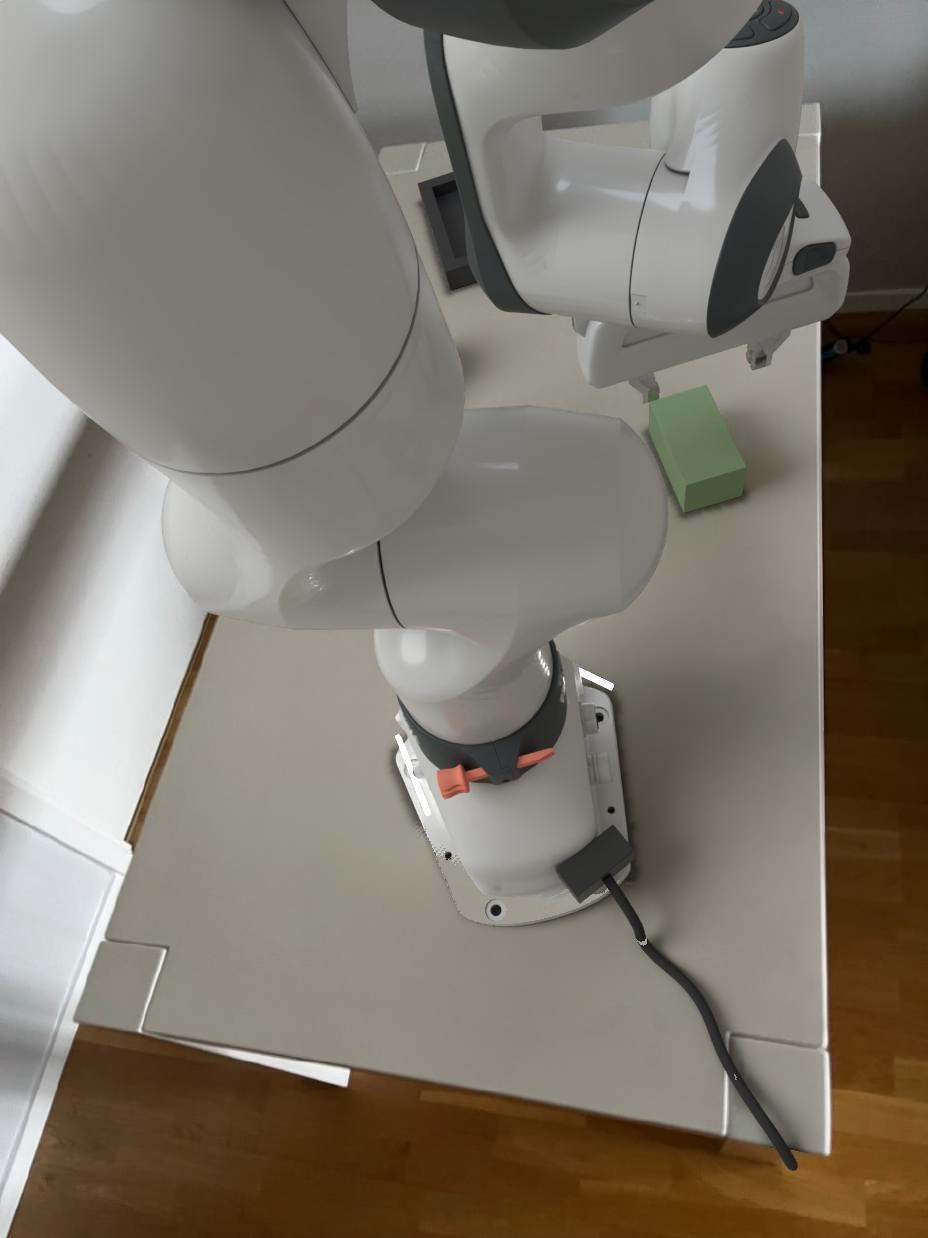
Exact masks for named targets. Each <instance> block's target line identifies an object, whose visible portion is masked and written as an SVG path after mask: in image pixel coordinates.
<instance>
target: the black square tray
mask: <svg viewBox="0 0 928 1238" xmlns="http://www.w3.org/2000/svg"><path fill="white" fill-rule="evenodd" d="M417 187H418V190H419V194H420V199H421V202H422V205H423V209H424V212H425V215H426V218H427V221H428V225H429V227H430V232H431V234H432V237H433V241H434V244H435V247H436V250H437V253H438V257H439V259H440V263H441V266H442V269H443V272H444V275H445V278H446V282H447V285H448V287H449V290H450V291H453V290H456V289H459V288H463V287H465V286H469V285H472V284H475V283H477V281H476V279H475V277H474V275H473V273H472V271H471V268H470V266H469V262H468V257H467V249H466V236H465V217H464V209H463V205H462V202H461V198H460V195H459V191H458V187H457V184H456V180H455V176H454V173H453V171H452V172H451V171H450V172H447V173H444V174H442V175H439V176H435V177H432V178H429V179H427V180H424V181H420V182H417Z"/></svg>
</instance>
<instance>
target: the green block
mask: <svg viewBox="0 0 928 1238" xmlns="http://www.w3.org/2000/svg"><path fill="white" fill-rule="evenodd" d="M648 433H649V436H650V438H651V440H652V442H653V445H654V447H655V449H656V452H657V454H658V456H659V459H660V461H661V463H662V466H663V468H664V470H665V473H666V475H667V478H668V480H669V482H670V485H671V487H672V489H673V491H674V494H675V496H676V498H677V501H678V503H679V506H680V508H681V510H682V512H683V514H686V513H689V512H693V511H697V510H700V509H703V508H706V507H709V506H713V505H717V504H720V503H723V502H727V501H731V500H733V499H736V498H740V497H742V496H743V491H744V484H745V480H746V479H745V478H746V473H747V465H746V463H745V461H744V459H743V457H742V454H741V452H740V451H739V449H738V446H737V444H736V442H735V440H734V439H733V436H732V434H731V432H730V430H729V428H728V426H727V424H726V422H725V420H724V418H723V416H722V414H721V411H720V409H719V407H718V405H717V403H716V401H715V399H714V397H713V395H712V393H711V391H710V389H709V386H708V385H707V384H702V385H700V386H697V387H693V388H690V389H686V390H683V391H680V392H677V393H673V394H671V395H667V396H664V397H661V398H660V397H659V399H658V400H654V401H651V402H648Z"/></svg>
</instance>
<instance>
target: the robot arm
mask: <svg viewBox="0 0 928 1238" xmlns="http://www.w3.org/2000/svg"><path fill="white" fill-rule="evenodd" d="M370 1H371V2H372V3H373V4H374V5H375V6H376V7H378V8H379V9H380V10H382V11H383V12H385V13H386V14H387V15H389V16H391V17H392V18H394V19H396V20H398V21H400V22H401V23H404V24H407V25H409V26H411V27H414V28H418V29H422V31H423V32H422V33H423V35H422V36H423V37H422V38H423V47H424V55H425V62H426V67H427V74H428V78H429V79H428V80H429V84H430V87H431V93H432V98H433V101H434V105H435V110H436V113H437V117H438V122H439V125H440V129H441V132H442V136H443V141H444V144H445V147H446V151H447V155H448V158H449V162H450V165H451V169H452V172H453V173H454V176H455V180H456V184H457V187H458V191H459V195H460V198H461V202H462V205H463V209H464V217H465V236H466V249H467V257H468V262H469V266H470V268H471V271H472V273H473V275H474V277H475V279H476V281H477V282H476V283H477V284H478V285H479V287H480V288H481V290H482V292H483V293H484V295H485V296H486V297H487V298H488V300H490V302H491V303H492V304H493V306H495V307H496V308H497V309H498V310H499V311H502V312H504V313H513V314H514V313H515V314H528V315H541V316H552V315H554V316H561V317H567V318H571V325H572V328H573V329H572V330H574V332H575V333H576V337H575V338H576V340H575V341H576V342H575V344H576V345H575V346H576V349H575V351H576V358H577V361H578V365H579V367H580V370H581V373H582V375H583V378H584V380H585V381H586V383H587V384H588V385H590V386H591V387H593V388H595V389H598V390H601V389H605V388H609V387H612V386H614V385H615V386H616V385H618V384H621V383H625V382H628V384H629V385H630V386H631V387H632V388H634V389H635V390H636V393H637V396H638V399H639V401H640V403H641V405H645V404H649V402H651V401H654V400H658V399H660V385H659V383H658V381H657V380H656V376H655V374H654V373H657V372H660V371H664V370H666V369H670V368H673V367H676V366H679V365H683V364H685V363H689V362H693V361H696V360H700V359H702V358H706V357H709V356H712V355H715V354H718V353H722V352H725V351H728V350H731V349H734V348H738V347H741V346H745V345H746V349H747V350H746V351H745V358H746V361H747V363H748V364H749V365H750V366H749V367H750V369H751V370H752V371H756V370H760V369H763V368H766V367H769V366H771V365H772V360H773V355H774V353H775V352H776V351H777V350H778V349H779V348H780V347H781V346H782V345H783V344H784V342H785V341H787V339H788V338H789V337H790V336H791V333H792V331H793V330H796V329H800V328H803V327H806V326H810V325H812V324H815V323H819V322H823V321H826V320H828V319H830V318H831V317H832V316H834V314H836V312H837V311H839V309H841V307H842V306H843V304H844V303H845V298H846V295H847V290H848V286H849V279H850V270H851V269H850V267H851V265H850V261H849V258H848V257H847V254H848V253H849V250H850V247H851V245H852V237H851V235H850V232H849V230H848V228H847V225H846V222H845V221H844V219H843V218H842V216H841V213H839V211H838V209H837V208H836V206H835V205H834V203H833V202H832V200H831V199H830V197H829V196H828V195H827V193H826V192H825V191H824V190H823V189H822V188H821V187H820V185H819V184H818V183H817V182H816V181H815V180H812V179H803V177H804V176H803V173H802V171H801V167H800V164H799V161H798V159H797V156H796V153H797V152H796V151H797V147H798V141H799V140H798V139H799V134H800V127H801V126H800V125H801V118H802V108H803V99H804V98H803V97H804V85H805V30H804V29H805V28H804V22H803V18H802V14H801V13H800V12H799V10H798V9H797V8H796V7H795V6H794V5H793V4H791V3H790V2H788V1H785V0H370ZM348 36H349V35H348V0H0V334H1V335H2V337H3V338H5V339H6V341H8V343H9V344H10V345H11V346H13V348H14V349H16V350H17V351H18V353H19V354H20V355H21V356H22V357H24V358H25V360H26V361H28V362H29V363H30V365H32V366H33V367H34V369H36V370H37V371H38V372H39V374H41V375H42V376H43V377H44V379H46V380H47V381H48V382H49V383H50V384H51V385H52V386H53V387H54V388H55V389H56V390H58V391H59V392H60V393H61V394H62V395H63V396H64V397H65V398H67V399H68V401H70V402H71V403H72V404H73V405H74V406H75V407H76V408H78V409H79V410H80V411H81V412H82V413H83V414H84V415H85V416H87V417H88V418H89V419H90V420H92V421H93V422H94V423H95V424H97V425H98V426H99V427H101V428H102V429H103V430H104V431H106V432H107V433H108V434H109V435H111V437H113V438H114V439H116V440H117V441H118V442H120V443H121V444H122V445H124V446H125V447H126V448H128V449H129V450H130V451H132V452H133V453H134V454H135V455H137V456H138V457H139V458H141V459H142V460H144V461H145V462H146V463H148V464H149V465H150V466H151V467H153V468H154V469H156V470H157V471H158V472H159V473H160V474H162V475H163V476H165V477H166V478H167V479H168V482H167V486H166V488H165V492H164V495H163V500H162V506H161V516H160V517H161V518H160V523H161V524H160V527H161V529H160V530H161V538H162V544H163V548H164V553H165V556H166V558H167V561H168V564H169V566H170V569H171V571H172V573H173V575H174V577H175V579H176V581H177V582H178V583H179V585H180V586H181V589H182V590H183V591H184V592H185V593H186V595H187V596H188V597H189V599H191V601H192V602H193V603H194V604H195V606H197V607H198V608H199V609H201V610H203V612H206V613H209V614H210V615H215V616H219V617H222V618H223V617H224V618H228V619H233V620H237V621H242V622H246V623H247V622H248V623H251V624H252V623H253V624H256V625H257V624H258V625H262V626H268V627H275V628H280V629H287V630H295V631H321V630H322V631H335V630H336V631H337V630H338V631H340V630H341V631H342V630H344V631H345V630H346V631H347V630H349V631H351V630H352V631H353V630H354V631H356V630H360V631H361V630H365V631H366V630H370V631H371V630H373V649H374V654H375V659H376V661H377V665H378V667H379V670H380V671H381V674H382V675H383V677H384V678H385V679H386V681H387V682H388V684H389V685H390V687H391V688H392V689H393V691H394V692H395V694H396V698H397V701H398V705H399V709H398V712H397V714H396V715H395V716H394V717H395V721H396V723H397V724H399V726H400V727H401V728H402V729H403V730H404V732H405V733H406V737H407V738H406V740H405V741H404V742H403V739H402V737H401V736H400V734H397V735H395V739H396V741H397V744H398V746H399V748H398V750H397V751H396V755H395V763H396V766H397V768H398V771H399V773H400V776H401V779H402V780H403V783H404V785H405V788H406V791H407V793H408V795H409V798H410V799H411V802H412V804H413V805H414V809H415V811H416V813H417V816H418V818H419V821H420V823H421V825H422V827H423V830H424V833H425V835H426V834H427V835H426V838H427V839H428V838H429V840H428V842H429V841H431V844H433V845H432V847H431V849H432V848H433V849H434V847H436V848H435V849H434V851H433V849H432V851H433V853H434V852H436V850H438V849H439V850H438V852H437V853H436V856H437V855H439V853H441V852H442V853H441V855H440V856H443V855H444V854H443V853H445V856H444V857H445V858H446V859H448V860H449V859H450V858H452V857H455V855H457V856H456V857H455V858H454V859H453V860H452V862H454V860H457V859H456V858H460V859H459V860H458V861H461V862H462V864H461V865H463V866H464V868H465V870H466V871H467V873H468V875H469V876H470V877H471V879H472V880H473V881H474V883H475V885H476V886H477V888H478V889H479V890H480V891H481V892H482V893H484V894H485V895H489V896H492V897H495V896H496V897H502V898H504V897H510V898H512V897H515V896H520V897H528V898H531V897H534V896H533V895H535V896H538V895H541V897H540V898H539V899H538V900H542V899H546V898H549V897H552V896H555V895H558V896H556V897H554V898H552V899H550V900H549V901H547V902H546V903H549V902H552V903H553V901H555V902H557V901H556V900H559V899H561V898H562V897H565V896H567V895H566V894H568V893H571V894H572V896H573V897H574V898H575V899H576V901H577V902H578V903H579V904H581V903H582V902H583V901H584V900H585V899H587V898H588V897H589V896H590V895H592V894H595V895H596V894H600V893H602V894H603V892H604V893H605V890H606V889H607V888H608V890H609V891H607V892H606V893H605V894H603V895H602V896H600V897H599V898H597V899H595V900H593V901H591V902H590V903H587V904H585V905H583V906H581V907H579V908H576V909H573V910H571V911H568V912H565V913H562V914H559V915H555V916H552V917H548V918H544V919H540V920H535V921H529V922H523V923H513V924H496V923H488V924H487V925H486V926H491V927H520V926H521V927H522V926H528V925H533V924H538V923H543V922H547V921H551V920H555V919H558V918H561V917H564V916H569V915H571V914H574V913H576V912H579V911H581V910H583V909H586V908H588V907H590V906H592V905H594V904H596V903H598V902H600V901H601V900H603V899H604V898H605V897H607V896H609V895H610V894H611V896H612V897H613V899H614V900H615V902H616V903H617V906H618V907H619V908H620V910H621V911H622V913H623V915H624V916H625V918H626V919H627V921H628V922H629V924H630V926H631V928H632V929H633V930H632V931H633V933H634V937H635V940H636V939H637V940H638V941H640V942H642V941H645V939H646V937H647V935H646V931H645V927H644V924H643V922H642V920H641V919H640V917H639V914H638V913H637V911H636V910H635V908H634V907H633V906H632V904H631V902H630V901H629V899H628V897H627V896H626V895H625V893H624V891H623V890H622V889H621V887H620V885H621V884H622V883H623V882H624V881H625V880H626V878H627V877H628V876H629V874H630V873H631V869H632V863H633V861H635V860H636V852H635V848H634V847H633V846H632V845H631V843H630V842H629V833H628V825H627V815H626V808H625V799H624V792H623V791H624V790H623V784H622V774H621V765H620V757H619V748H618V740H617V732H616V722H615V714H614V705H613V703H612V701H611V697H610V696H609V695H608V694H607V693H605V692H604V691H602V690H600V689H597V688H594V687H592V686H587V685H583V679H582V678H585V679H587V680H589V681H592V682H594V683H595V684H597V685H600V686H602V687H604V688H606V689H608V690H610V691H612V690H613V688H614V683H612V682H610V681H608V680H606V679H604V678H601V677H599V676H597V675H595V674H593V673H591V672H590V671H587V670H585V669H583V668H581V667H580V665H579V663H577V662H574V660H572V659H570V658H568V657H566V656H564V655H562V654H560V652H559V650H558V649H557V644H556V642H555V641H554V639H555V638H557V637H558V636H560V635H562V634H564V633H566V632H568V631H570V630H572V629H574V628H577V627H578V626H581V625H583V624H587V623H589V622H592V621H594V620H595V621H596V620H598V619H600V618H604V617H607V616H611V615H615V614H618V613H621V612H624V611H625V610H626V609H627V608H629V606H630V605H632V604H633V603H634V602H635V600H637V598H638V597H639V596H640V595H641V594H642V592H643V591H644V590H645V588H646V587H647V585H648V584H649V582H650V581H651V579H652V577H653V575H654V574H655V572H656V571H657V568H658V566H659V564H660V561H661V558H662V556H663V553H664V549H665V545H666V541H667V535H668V530H669V500H668V493H667V487H666V485H665V481H664V478H663V474H662V471H661V470H660V467H659V465H658V463H657V460H656V459H655V457H654V455H653V453H652V451H651V450H650V448H649V446H648V445H647V444H646V442H645V441H644V439H642V437H641V436H640V435H639V434H638V433H637V431H636V430H635V429H634V428H633V427H632V426H630V425H629V424H628V422H626V421H625V420H624V419H623V418H621V417H616V416H611V415H602V414H597V413H590V412H584V411H578V410H571V409H563V408H555V407H547V406H540V405H533V404H532V405H531V404H523V405H505V406H490V407H489V406H488V407H476V408H475V407H473V408H465V400H466V399H465V377H464V371H463V364H462V360H461V358H460V353H459V351H458V348H457V346H456V343H455V341H454V338H453V336H452V333H451V330H450V327H449V325H448V323H447V320H446V318H445V315H444V313H443V310H442V308H441V304H440V302H439V300H438V298H437V295H436V292H435V290H434V287H433V284H432V282H431V280H430V277H429V275H428V272H427V269H426V267H425V265H424V262H423V260H422V257H421V254H420V252H419V250H418V247H417V244H416V242H415V239H414V237H413V234H412V232H411V229H410V226H409V223H408V221H407V219H406V217H405V213H404V212H403V209H402V207H401V205H400V203H399V201H398V197H397V196H396V193H395V191H394V189H393V185H392V184H391V182H390V179H389V178H388V176H387V174H386V172H385V170H384V168H383V166H382V164H381V162H380V160H379V158H378V156H377V153H376V152H375V150H374V148H373V146H372V144H371V143H370V141H369V138H368V137H367V135H366V132H365V130H364V129H363V127H362V125H361V123H360V121H359V118H357V116H356V114H357V113H358V111H359V108H358V102H357V98H356V94H355V89H354V84H353V83H354V82H353V77H352V71H351V62H350V54H349V53H350V52H349V37H348ZM649 99H650V109H649V111H650V112H649V124H648V125H649V127H648V128H649V129H648V148H646V147H645V148H644V147H634V146H624V145H613V144H604V143H603V144H602V143H594V142H585V141H584V142H583V141H577V140H572V139H568V138H563V137H559V136H557V135H554V134H552V133H549V132H547V131H544V130H543V120H542V116H546V115H547V116H548V115H555V114H565V113H575V112H576V113H577V112H588V111H589V112H591V111H599V110H600V111H601V110H611V109H617V108H622V107H626V106H630V105H635V104H638V103H641V102H644V101H647V100H649ZM598 716H600V717H602V718H603V719H602V721H600V722H599V720H598V719H597V717H598ZM610 810H613V811H614V812H612V813H610V812H609V811H610ZM425 829H426V830H425ZM425 831H426V832H425ZM431 844H430V845H431ZM442 845H443V846H442ZM440 847H441V848H440ZM443 848H446V849H445V850H444V849H443ZM442 850H444V851H442ZM445 851H449V852H445ZM449 855H451V856H450V858H448V856H449ZM436 856H435V859H436V860H437V858H436ZM440 856H439V857H440ZM443 859H444V858H443ZM441 861H442V860H441ZM458 861H457V863H459V862H458ZM438 865H439V864H438ZM455 865H456V864H455ZM461 865H460V866H461ZM439 867H440V865H439ZM463 870H464V869H463ZM441 874H443V872H442V871H441ZM443 877H444V876H443ZM444 879H445V877H444ZM617 880H618V881H619V880H620V881H619V882H618V881H617ZM617 882H618V883H617ZM446 885H447V886H448V884H447V883H446ZM566 889H568V890H569V891H567V890H566ZM564 890H566V891H567V892H565V893H563V894H560V892H561V893H562V891H563V892H564ZM449 892H450V893H451V891H450V890H449ZM554 894H555V895H554ZM559 894H560V895H559ZM551 895H552V896H551ZM564 895H565V896H564ZM568 895H569V894H568ZM530 896H531V897H530ZM548 896H549V897H548ZM561 896H562V897H561ZM451 897H452V899H453V900H454V898H453V896H452V895H451ZM544 897H545V898H544ZM560 897H561V898H560ZM516 898H517V897H516ZM541 898H542V899H541ZM538 900H537V901H538ZM546 900H547V899H546ZM559 901H560V900H559ZM546 903H545V904H546ZM549 904H550V903H549ZM546 905H547V904H546ZM455 906H456V908H457V910H458V911H459V909H458V907H457V905H456V904H455ZM558 906H560V905H558ZM495 907H500V908H501V909H500V910H501V911H500V913H499V914H498V915H494V914H493V909H494V908H495ZM556 907H557V906H556ZM506 911H507V908H506V905H505V903H504V902H503V901H502V900H500V899H492V900H490V901H489V902H488V903H487V904H486V907H485V914H486V916H487V918H488V919H489V920H490V919H491V921H494V922H497V921H500V920H502V919H503V918H504V917H505V915H506ZM459 913H460V915H461V914H462V913H461V912H459ZM492 917H493V918H492ZM467 920H468V921H471V919H470V918H469V919H467ZM477 922H479V921H477V920H475V921H474V922H473V923H477ZM479 924H480V925H485V923H484V922H482V921H481V923H479ZM492 924H495V926H493V925H492ZM502 925H503V926H502ZM637 940H636V941H637ZM637 944H638V945H639V948H640V949H641V950H642V951H643V952H644V953H645V954H646V955H647V957H648V958H649V959H650V960H651V961H652V962H653V963H655V964H656V965H657V966H658V967H659V968H660V969H661V970H662V971H664V972H665V973H666V974H667V975H669V976H670V977H671V978H672V979H673V980H674V981H675V982H676V983H677V984H678V985H680V987H681V988H682V989H683V990H684V991H685V992H686V993H687V994H688V996H689V997H690V998H691V1000H692V1002H693V1003H694V1004H695V1006H696V1008H697V1010H698V1012H699V1014H700V1015H701V1018H702V1020H703V1022H704V1024H705V1027H706V1030H707V1033H708V1035H709V1038H710V1041H711V1043H712V1046H713V1048H714V1050H715V1053H716V1055H717V1057H718V1060H719V1062H720V1064H721V1066H722V1067H723V1070H724V1071H725V1073H726V1075H727V1077H728V1078H729V1080H730V1081H731V1083H732V1085H733V1087H734V1088H735V1090H736V1091H737V1093H738V1095H739V1096H740V1097H741V1099H742V1101H743V1103H744V1104H745V1105H746V1107H747V1108H748V1111H750V1113H751V1114H752V1116H753V1117H754V1119H755V1120H756V1122H757V1123H758V1124H759V1126H760V1127H761V1129H762V1130H763V1132H764V1133H765V1135H766V1136H767V1138H768V1139H769V1141H770V1142H771V1144H772V1146H773V1147H774V1148H775V1147H776V1148H775V1150H776V1152H777V1153H778V1155H779V1157H780V1158H781V1161H783V1164H784V1165H785V1167H786V1168H787V1170H790V1171H791V1172H795V1171H797V1170H798V1168H799V1165H798V1161H797V1159H796V1157H795V1156H794V1154H793V1152H792V1151H791V1148H790V1147H789V1145H788V1144H787V1142H786V1141H785V1139H784V1138H783V1136H782V1135H781V1133H780V1132H779V1130H778V1128H777V1127H776V1126H775V1125H774V1123H773V1121H772V1120H771V1119H770V1117H769V1115H768V1114H767V1112H766V1111H765V1110H764V1109H763V1107H762V1105H761V1104H760V1103H759V1101H758V1100H757V1098H756V1097H755V1095H754V1094H753V1093H752V1091H751V1089H750V1088H749V1086H748V1085H747V1083H746V1081H745V1080H744V1078H743V1077H742V1075H741V1073H740V1071H739V1069H738V1068H737V1066H736V1065H735V1063H734V1061H733V1058H732V1057H731V1055H730V1052H729V1051H728V1049H727V1046H726V1044H725V1042H724V1041H725V1040H724V1039H723V1036H722V1034H721V1031H720V1028H719V1026H718V1023H717V1021H716V1018H715V1016H714V1013H713V1011H712V1009H711V1007H710V1006H709V1005H710V1004H708V1002H707V1000H706V998H705V997H704V996H703V994H702V992H701V991H700V990H699V988H698V987H697V986H696V984H694V982H693V981H692V980H691V979H690V978H689V977H688V976H687V975H686V974H685V973H684V972H683V971H682V970H681V969H680V968H679V967H677V966H676V965H674V963H673V962H671V961H670V960H668V959H667V957H665V956H664V955H663V954H662V953H661V952H659V951H658V949H657V948H655V946H654V945H653V944H652V942H650V940H649V939H648V938H647V944H646V945H644V946H643V945H640V944H639V943H638V942H637ZM734 1074H735V1075H736V1077H737V1078H736V1079H737V1080H735V1076H734Z"/></svg>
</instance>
